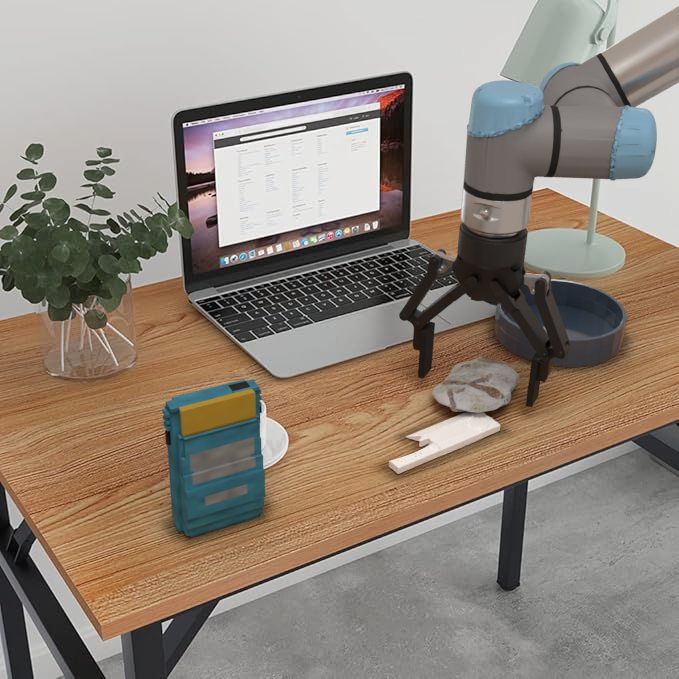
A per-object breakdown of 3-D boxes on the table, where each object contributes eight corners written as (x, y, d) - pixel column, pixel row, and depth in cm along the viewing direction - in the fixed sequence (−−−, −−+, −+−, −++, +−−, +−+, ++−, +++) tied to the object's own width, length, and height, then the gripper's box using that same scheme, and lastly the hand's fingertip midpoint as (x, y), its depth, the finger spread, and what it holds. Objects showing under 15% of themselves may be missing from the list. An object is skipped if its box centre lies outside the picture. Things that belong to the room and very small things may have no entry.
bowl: (633, 321, 147) (638, 295, 145) (605, 379, 134) (609, 352, 132) (515, 294, 153) (518, 269, 151) (476, 347, 140) (479, 321, 138)
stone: (498, 431, 123) (501, 407, 121) (423, 413, 126) (425, 389, 124) (523, 384, 133) (526, 361, 131) (453, 367, 135) (455, 345, 134)
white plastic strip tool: (370, 451, 119) (370, 443, 119) (471, 411, 127) (472, 403, 126) (398, 474, 116) (398, 466, 115) (500, 431, 123) (501, 423, 123)
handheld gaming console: (255, 495, 112) (253, 374, 105) (272, 517, 109) (270, 395, 102) (167, 521, 108) (158, 398, 101) (182, 546, 105) (174, 420, 98)
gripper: (376, 215, 119) (370, 376, 130) (597, 261, 110) (570, 430, 121) (402, 192, 125) (394, 348, 136) (614, 234, 116) (587, 397, 127)
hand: (477, 387), depth 128 cm, fingers open, 13 cm apart
